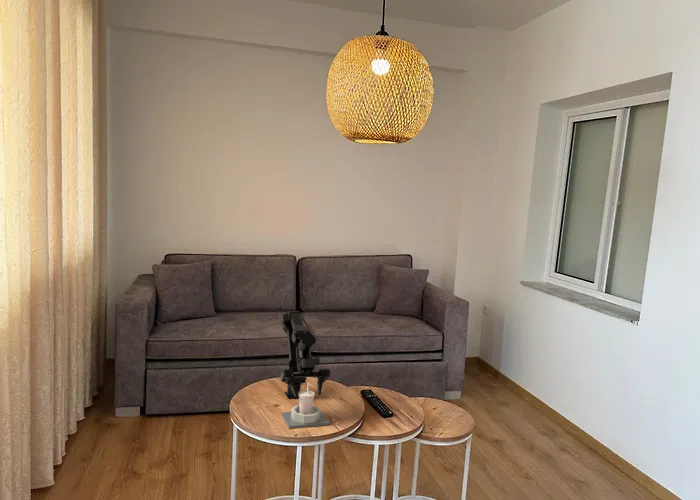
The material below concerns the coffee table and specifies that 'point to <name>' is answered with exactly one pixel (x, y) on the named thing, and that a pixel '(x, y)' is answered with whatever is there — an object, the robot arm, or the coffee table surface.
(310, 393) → the smoothie
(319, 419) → the bottle stand
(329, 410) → the coffee table surface
